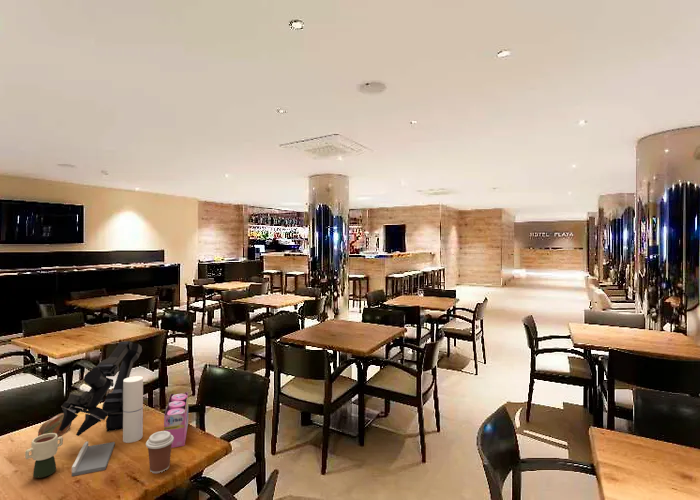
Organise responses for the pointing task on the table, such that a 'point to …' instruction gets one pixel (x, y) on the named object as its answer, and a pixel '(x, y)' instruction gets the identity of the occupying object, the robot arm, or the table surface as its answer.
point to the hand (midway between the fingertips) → (68, 433)
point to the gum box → (177, 418)
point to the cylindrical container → (132, 409)
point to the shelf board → (92, 458)
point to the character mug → (44, 453)
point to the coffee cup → (159, 451)
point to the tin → (53, 426)
